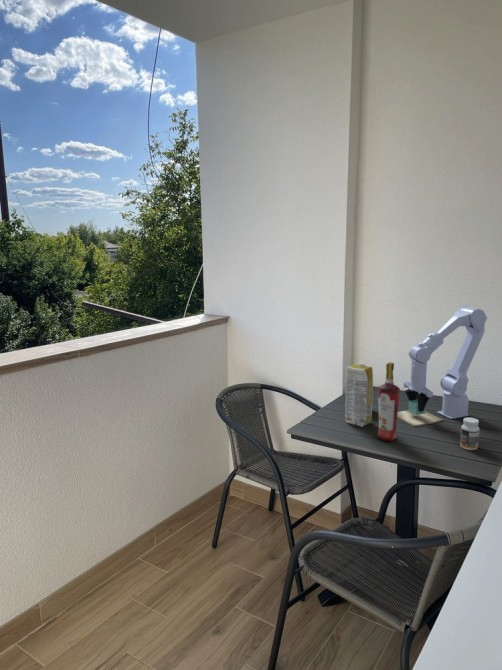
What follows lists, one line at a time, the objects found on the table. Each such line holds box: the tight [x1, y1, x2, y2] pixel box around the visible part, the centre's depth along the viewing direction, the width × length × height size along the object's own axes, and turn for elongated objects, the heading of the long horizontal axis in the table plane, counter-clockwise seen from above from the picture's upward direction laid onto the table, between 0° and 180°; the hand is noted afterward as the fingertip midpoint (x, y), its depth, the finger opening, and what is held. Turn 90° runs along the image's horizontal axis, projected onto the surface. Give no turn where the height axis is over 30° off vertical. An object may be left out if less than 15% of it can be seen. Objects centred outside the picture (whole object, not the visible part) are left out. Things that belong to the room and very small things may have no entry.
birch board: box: [397, 409, 444, 427], centre depth 190 cm, size 14×14×1 cm
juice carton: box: [344, 362, 374, 428], centre depth 184 cm, size 9×8×24 cm
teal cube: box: [407, 400, 426, 415], centre depth 189 cm, size 4×4×4 cm
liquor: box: [376, 361, 401, 442], centre depth 168 cm, size 7×7×28 cm
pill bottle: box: [459, 416, 481, 451], centre depth 161 cm, size 6×6×10 cm
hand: (416, 409), depth 189 cm, fingers closed on teal cube, 4 cm apart
